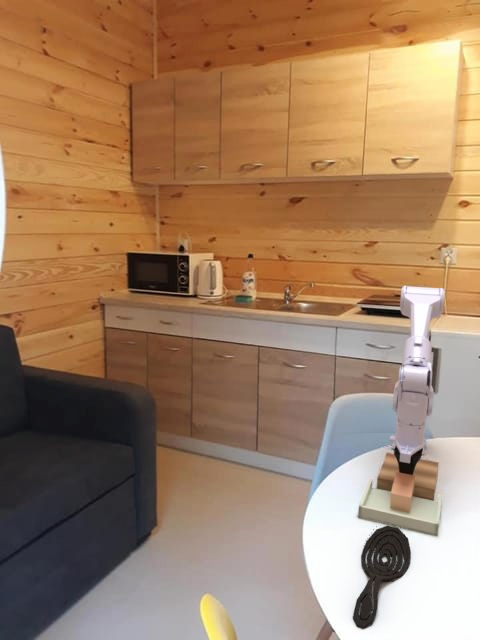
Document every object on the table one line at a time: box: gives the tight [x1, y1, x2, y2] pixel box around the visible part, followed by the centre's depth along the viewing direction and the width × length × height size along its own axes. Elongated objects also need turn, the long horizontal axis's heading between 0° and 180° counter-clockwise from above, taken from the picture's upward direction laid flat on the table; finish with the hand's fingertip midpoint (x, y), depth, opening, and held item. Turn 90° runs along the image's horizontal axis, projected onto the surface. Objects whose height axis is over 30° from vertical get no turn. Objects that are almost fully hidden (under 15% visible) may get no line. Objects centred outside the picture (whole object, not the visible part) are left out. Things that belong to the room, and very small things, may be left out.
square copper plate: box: [376, 452, 439, 501], centre depth 124 cm, size 14×12×3 cm
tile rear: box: [394, 472, 415, 498], centre depth 115 cm, size 4×4×3 cm
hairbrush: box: [352, 523, 412, 630], centre depth 91 cm, size 8×4×25 cm
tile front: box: [390, 483, 413, 512], centre depth 112 cm, size 4×4×3 cm
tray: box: [357, 478, 443, 537], centre depth 112 cm, size 13×15×2 cm
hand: (405, 479), depth 117 cm, fingers closed
